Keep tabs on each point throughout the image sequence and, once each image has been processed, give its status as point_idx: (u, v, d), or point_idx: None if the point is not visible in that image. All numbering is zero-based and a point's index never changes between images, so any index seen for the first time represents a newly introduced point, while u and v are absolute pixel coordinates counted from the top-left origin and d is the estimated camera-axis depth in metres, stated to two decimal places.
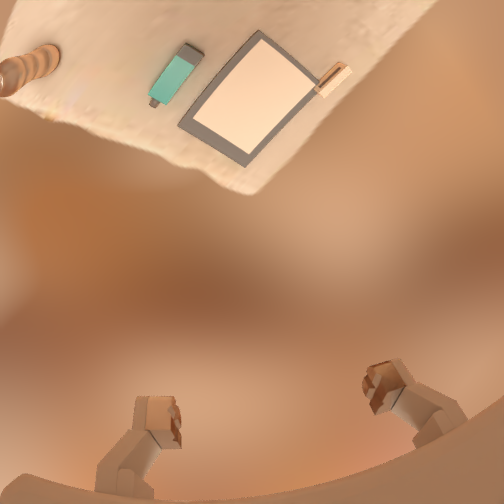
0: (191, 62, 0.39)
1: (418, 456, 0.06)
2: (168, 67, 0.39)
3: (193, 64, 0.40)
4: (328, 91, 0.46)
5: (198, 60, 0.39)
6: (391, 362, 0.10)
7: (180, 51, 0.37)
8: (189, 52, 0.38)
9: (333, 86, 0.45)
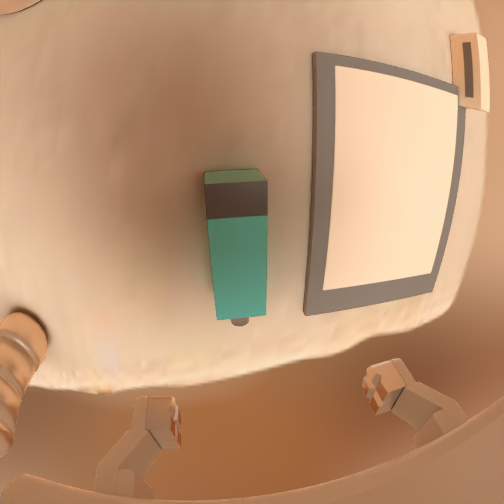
0: (252, 212, 0.19)
1: (418, 456, 0.06)
2: (214, 253, 0.20)
3: (259, 213, 0.19)
4: (487, 95, 0.17)
5: (263, 198, 0.19)
6: (390, 362, 0.10)
7: (209, 206, 0.19)
8: (231, 194, 0.18)
9: (486, 82, 0.16)
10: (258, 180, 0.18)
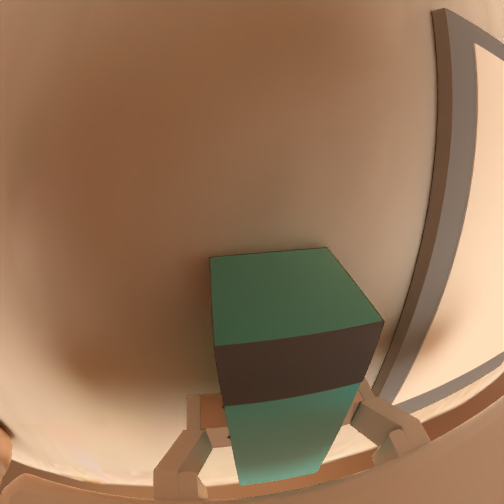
0: (332, 383, 0.07)
1: (419, 456, 0.06)
2: (239, 441, 0.08)
3: (348, 382, 0.07)
4: None
5: (364, 356, 0.07)
6: None
7: (230, 386, 0.07)
8: (289, 361, 0.06)
9: None
10: (362, 320, 0.06)
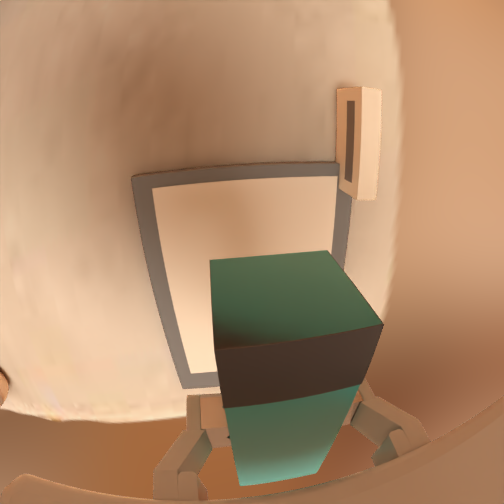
0: (332, 385, 0.07)
1: (419, 456, 0.06)
2: (239, 442, 0.08)
3: (347, 384, 0.07)
4: (372, 178, 0.19)
5: (363, 359, 0.07)
6: None
7: (230, 388, 0.07)
8: (289, 364, 0.06)
9: (374, 158, 0.18)
10: (361, 323, 0.06)
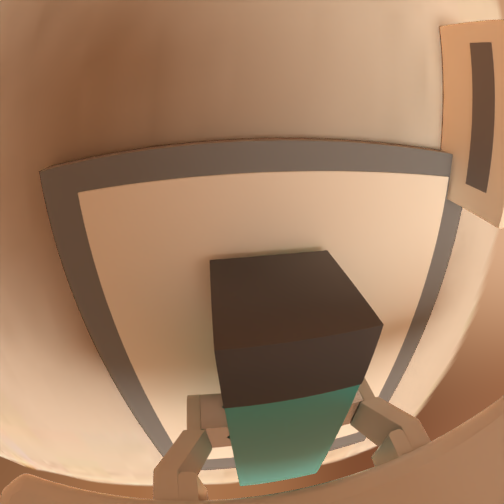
0: (332, 386, 0.07)
1: (418, 456, 0.06)
2: (239, 442, 0.08)
3: (347, 384, 0.07)
4: None
5: (363, 359, 0.07)
6: None
7: (230, 388, 0.07)
8: (289, 364, 0.06)
9: None
10: (361, 323, 0.06)
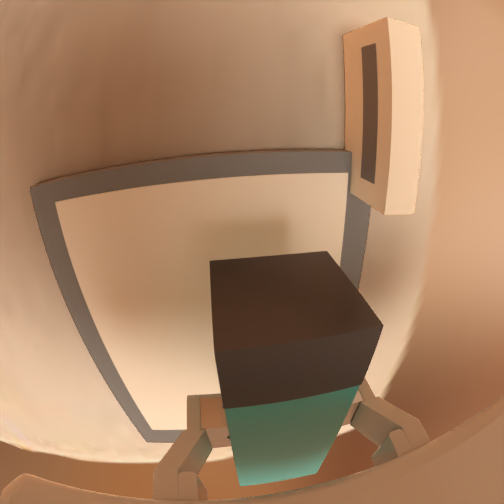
0: (331, 386, 0.07)
1: (418, 456, 0.06)
2: (239, 442, 0.08)
3: (347, 385, 0.07)
4: (411, 176, 0.10)
5: (363, 359, 0.07)
6: None
7: (230, 389, 0.07)
8: (288, 365, 0.06)
9: (413, 141, 0.09)
10: (361, 324, 0.06)
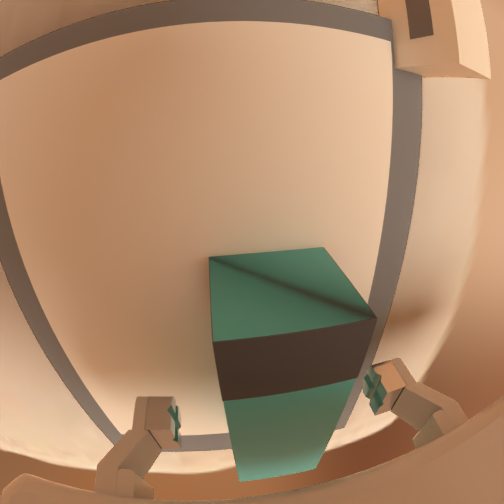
0: (328, 379, 0.07)
1: (418, 456, 0.06)
2: (237, 436, 0.08)
3: (343, 378, 0.08)
4: (478, 28, 0.04)
5: (358, 352, 0.07)
6: (390, 362, 0.10)
7: (228, 380, 0.07)
8: (285, 357, 0.07)
9: None
10: (355, 317, 0.07)
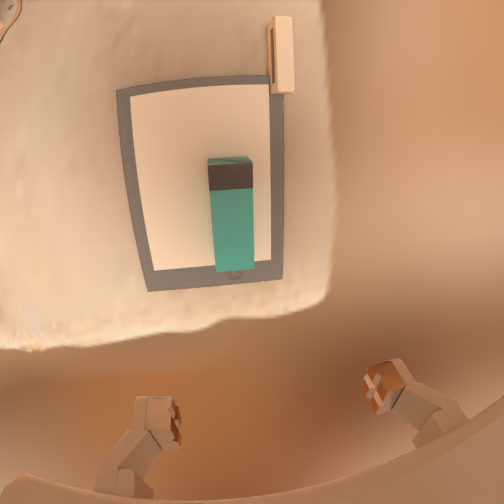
0: (242, 185, 0.26)
1: (419, 456, 0.06)
2: (214, 216, 0.27)
3: (247, 186, 0.26)
4: (289, 75, 0.23)
5: (250, 175, 0.26)
6: (390, 362, 0.10)
7: (211, 181, 0.25)
8: (226, 172, 0.25)
9: (289, 61, 0.22)
10: (246, 162, 0.25)
